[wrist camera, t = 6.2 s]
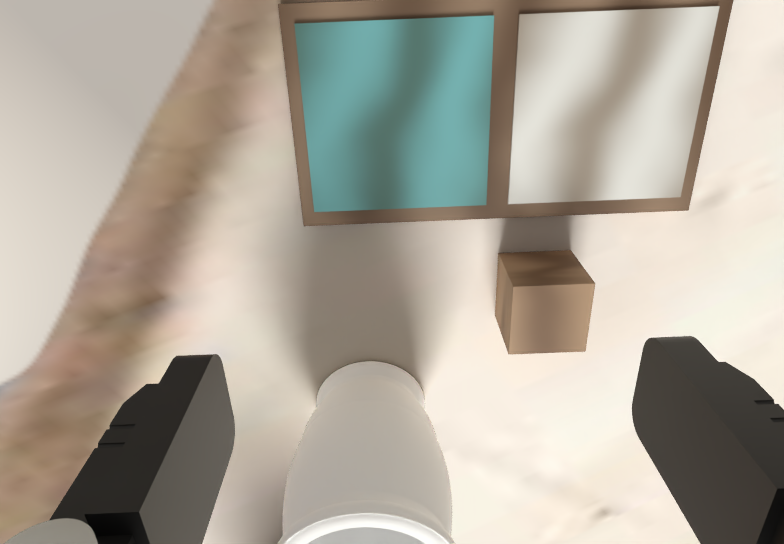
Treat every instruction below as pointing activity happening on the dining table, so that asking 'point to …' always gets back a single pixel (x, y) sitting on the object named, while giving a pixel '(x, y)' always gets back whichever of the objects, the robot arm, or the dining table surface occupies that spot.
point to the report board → (498, 106)
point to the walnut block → (543, 302)
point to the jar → (368, 465)
